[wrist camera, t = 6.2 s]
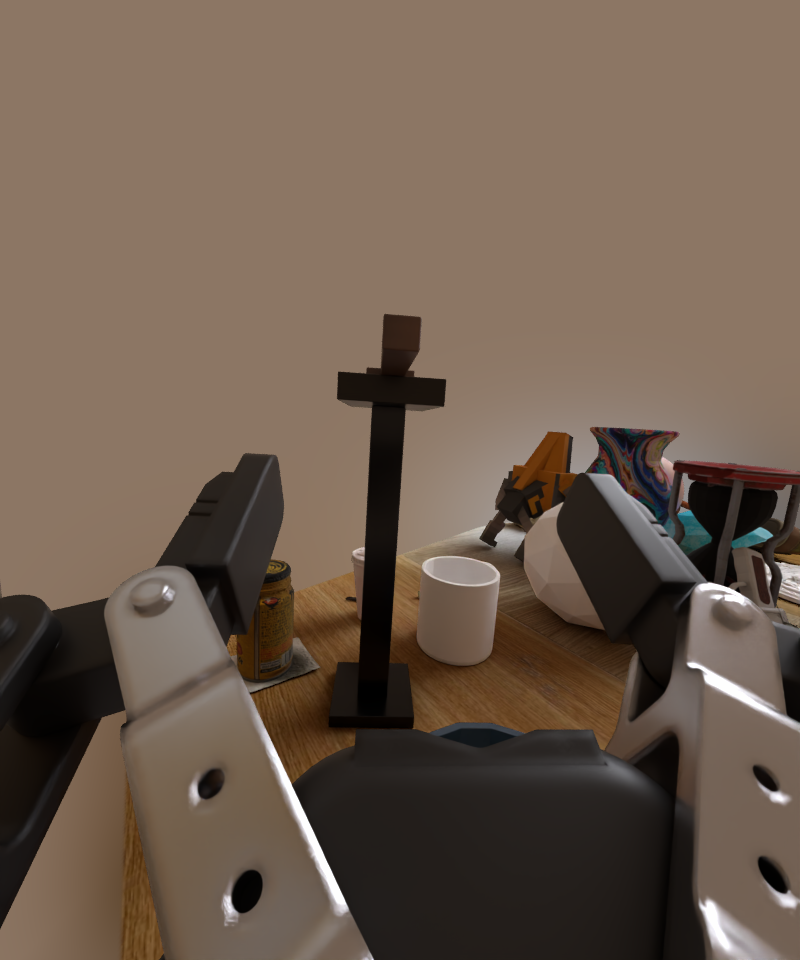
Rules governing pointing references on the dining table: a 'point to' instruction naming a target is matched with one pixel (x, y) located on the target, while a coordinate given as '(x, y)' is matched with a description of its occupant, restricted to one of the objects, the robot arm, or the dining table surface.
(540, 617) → the dining table surface
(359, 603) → the smoothie
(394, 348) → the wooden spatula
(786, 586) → the ceiling medallion
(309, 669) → the condiment
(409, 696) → the black pedestal stand
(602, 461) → the vase
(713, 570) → the hourglass
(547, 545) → the geometric sculpture
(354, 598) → the stick
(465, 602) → the mug
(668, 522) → the crystal
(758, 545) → the boat shoe
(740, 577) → the futuristic handgun
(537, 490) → the toy robot
